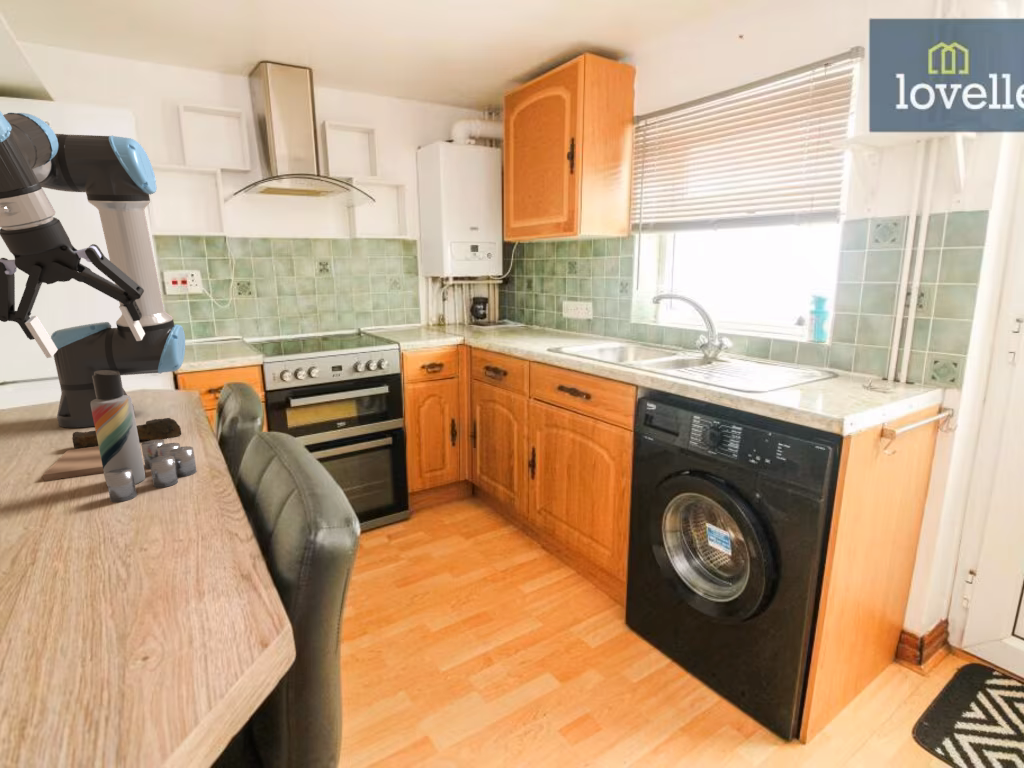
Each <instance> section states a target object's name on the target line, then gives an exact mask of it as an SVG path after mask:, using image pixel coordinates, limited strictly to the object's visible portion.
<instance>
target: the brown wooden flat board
mask: <svg viewBox="0 0 1024 768" xmlns="http://www.w3.org/2000/svg"><path fill="white" fill-rule="evenodd" d="M96 474H104V471H103V465H102V460H101V455H100V450H99V446H94V447H88V448H81V449H75V448H74V449H67V450H66V451H65V452H64V453H63V455H61V456H60V457H59V458H58V459H57V460H56V461H55V462H54V463H53V464H52V465H51V466H50V467H49V468H47V470H45V472H44V473H43V474H42V476H43V480H44V482H47V481H46V480H49V481H53V479H56V480H61V478H63V479H69V477H70V478H75V477H76V476H77V477H83V476H91V475H96ZM77 477H76V478H77Z"/></svg>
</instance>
